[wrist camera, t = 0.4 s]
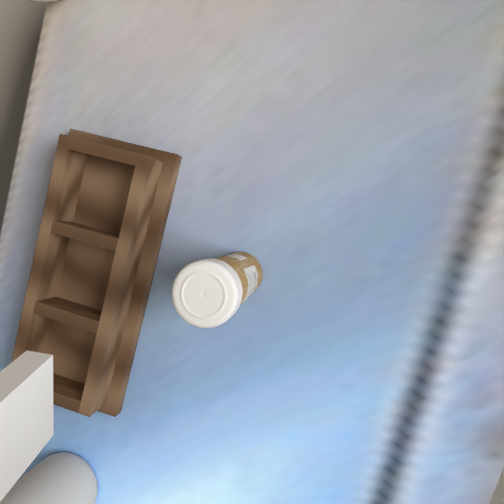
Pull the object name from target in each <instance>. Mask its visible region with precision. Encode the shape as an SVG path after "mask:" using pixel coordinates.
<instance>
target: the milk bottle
mask: <svg viewBox="0 0 504 504" xmlns="http://www.w3.org/2000/svg"><path fill="white" fill-rule="evenodd" d="M97 492H98V484H97V479H96V475H95V473H94V471H93V469H92V468H91V466H90V465H89V464H88V463H87V462H86V461H85V460H84V459H83V458H81V457H80V456H78V455H76V454H74V453H69V452H60V453H55V454H52V455H50V456H48V457H46V458H45V459H44V460H42V461H41V462H40V463H38V464H37V465H36V466H35V467H34V468H32V469H31V470H30V471H29V472H28V473H26V474H25V475H24V476H23V477H22V478H20V479H19V480H18V481H17V482H16V483H15V484H14V485H13V487H12V488H11V489H10V491H9V492H8V493H7V494H6V496H5V497H4V498H3V499H2V501H1V502H0V504H95V501H96V498H97Z"/></svg>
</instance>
